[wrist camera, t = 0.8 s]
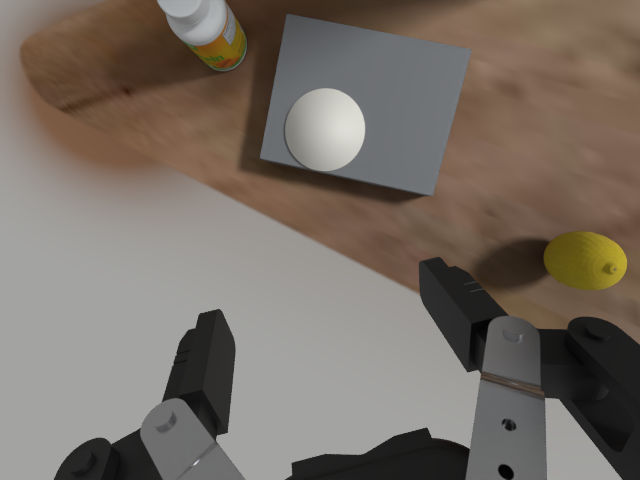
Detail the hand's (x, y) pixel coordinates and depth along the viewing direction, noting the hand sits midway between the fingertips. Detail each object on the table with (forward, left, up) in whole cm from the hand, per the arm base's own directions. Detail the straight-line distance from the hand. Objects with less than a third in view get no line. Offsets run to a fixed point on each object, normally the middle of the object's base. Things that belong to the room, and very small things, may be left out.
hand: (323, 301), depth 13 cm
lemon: (-3, +23, -24) cm, 34 cm away
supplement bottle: (-17, -17, -24) cm, 34 cm away
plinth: (-13, -1, -24) cm, 28 cm away
